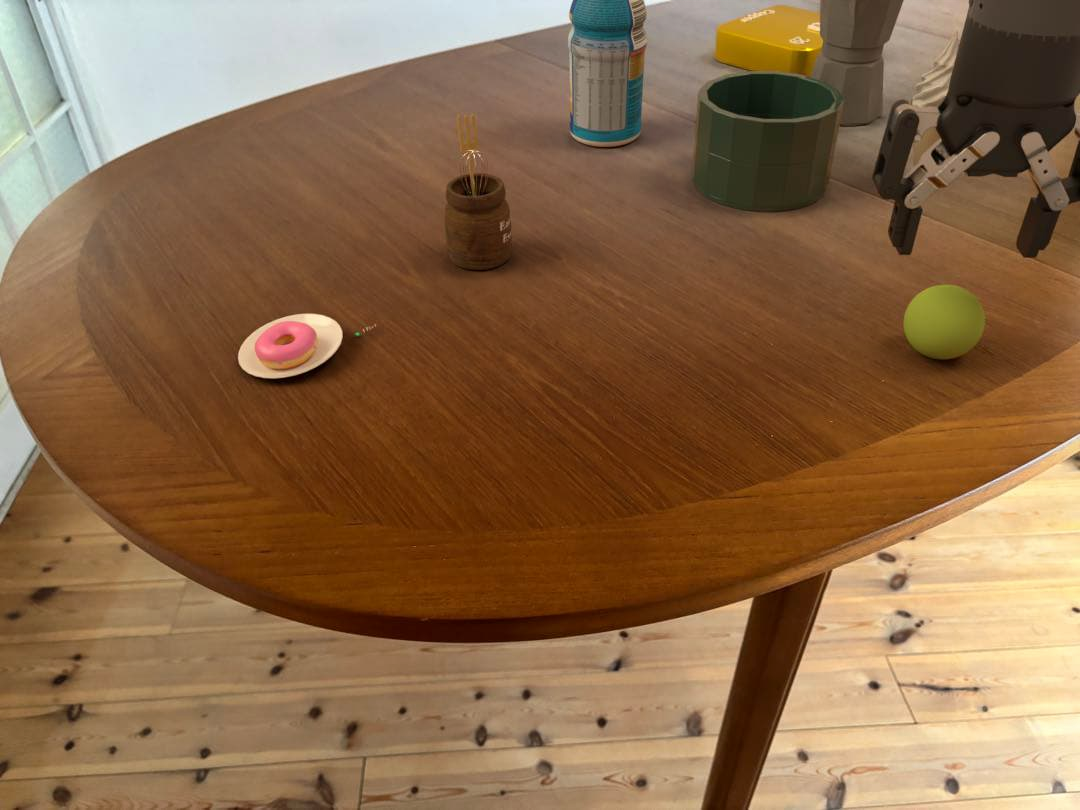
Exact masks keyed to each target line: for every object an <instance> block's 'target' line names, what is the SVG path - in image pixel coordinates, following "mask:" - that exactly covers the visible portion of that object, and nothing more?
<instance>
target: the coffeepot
mask: <svg viewBox="0 0 1080 810" xmlns="http://www.w3.org/2000/svg"><path fill="white" fill-rule="evenodd" d="M904 1H905V0H820V1H819V13H820V36H821V38H822V39H823V44H822V50H821V53H820V54H819V55H818V56H817V59H816V62H815V65H814V68H813V71H812V74H811V78H814V79H818V80H821V81H824V82H826V83H827V84H829V85H831V86H832V87H834V88H836V89H837V90H839V92H840V94H841V96H842V98H843V100H844V103H843V109H842V114H841V120H840V125H839V127H858V126H863V125H867V124H870V123H873V122H875V121H876V120H878V118H879V116H881V115H883V102H884V101H883V99H884V97H883V96H884V95H883V94H884V71H885V70H884V69H885V61H884V58H883V51H884V47H885V44H887V43H888V42H889V41H890V40H891V37H892V34H893V32H894V28H895V25H896V23H897V20H898V17H899V16H900V15H899V14H900V12H901V9H902V6H903V3H904Z"/></svg>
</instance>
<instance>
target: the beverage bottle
mask: <svg viewBox="0 0 1080 810" xmlns="http://www.w3.org/2000/svg"><path fill="white" fill-rule="evenodd" d="M647 12H648V11H647V7H646V3H645V0H572V1H571V5H570V8H569V13H568V19H569V21H570V22H571V29H570V30H569V33H568V36H567V37H568V38H567V47H568V51H569V52H568V53H569V133H570V135H571V137H572V138H573V139H575V141H577V142H579V143H581V144H584V145H587V146H591V147H599V148H612V147H619V146H624V145H627V144H629V143H632V142H634V141H635V140H637V139H638V138H639V137H640V135H641V132H642V109H643V92H644V91H643V90H644V74H645V73H644V70H645V54H646V49H647V44H648V40H647V39H648V37H647V32H646V29H645V28H644V23H645V22H646V19H647V17H648V13H647Z"/></svg>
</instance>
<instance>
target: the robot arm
mask: <svg viewBox="0 0 1080 810" xmlns="http://www.w3.org/2000/svg"><path fill="white" fill-rule="evenodd" d="M961 32H962V33H961V35H960V36H961V37H960V40H959V47H958V51H957V55H956V59H955V63H954V67H953V71H952V74H951V78H950V83H949V89H948V92H947V95H946V97H945V98H944V100H943V101H942V102H941V104H940V105H939V106H938V107H937V108H928V107H913V106H911V105H910V101H908V100H907V99H899V100H897V101H895V102H894V103H893V104H892V106H891V108H890V112H889V115H888V119H887V122H886V125H885V129H884V133H883V136H882V140H881V143H880V147H879V151H878V154H877V156H876V161H875V164H874V167H873V171H872V175H871V180H872V182H873V184H874V186H875V189H876V190H877V193H878V194H879V197H880V198H881V199H883V200H885V201H888V200H892V201H894V204H893V208H892V212H891V216H890V220H889V224H888V228H887V234H888V238H889V240H890V243H891V245H892V247H893V248H895V250H896V252H897V254H898V255H899V256H911V254H912V253H913V248H914V245H915V241H916V237H917V234H918V230H919V227H920V221H921V218H922V214H923V207H922V205H923V203H925V202H926V201H928V199H929V198H930V197H932V196H933V195H934V194H935V193H936V192H938V190H939V189H945V188H947V187H949V186H950V185H951V184H952V183H953V182H955V180H956V179H958V178H959V177H960V176H961V175H962V174H963V173H965V174H966V175H967V177H973V178H974V177H975V178H976V177H977V178H979V177H981V178H982V177H985V176H989V175H995V176H1000V177H1004V178H1018V175H1019V174H1021V173H1024V172H1027V174H1028V175H1029V177H1030V179H1031V182H1032V184H1033V186H1034V187H1035V190H1036V191H1037V195H1036V197H1034V196H1033V197H1030V199H1029V202H1028V205H1027V208H1026V211H1025V214H1024V217H1023V220H1022V222H1021V227H1020V228H1019V232H1018V234H1017V237H1016V241H1015V246H1016V249H1017V251H1018V252H1019V254H1020V255H1021V256H1022V257H1023V258H1024V259H1036V258H1037V257H1038V254H1039V251H1044V250H1045V249H1046V248H1047V247H1048V246H1049V245H1050V242H1051V239H1052V236H1053V234H1054V231H1055V228H1056V225H1057V223H1058V220H1059V218H1060V214H1061V213H1062V211H1063V210H1064V209H1066V208H1067V206H1069V205H1072V204H1075V203H1078V202H1080V108H1075V102H1076V101H1077V100H1076V99H1077V98H1078V97H1079V96H1080V0H968V9H967V13H966V17H965V21H964V25H963V29H962V31H961ZM932 127H935V128H936V130H937V132H938V134H939V136H940V138H939V139H938V140H937V141H936V142H935V143H934V144H933V145H932V146H931V147H930V148H929V149H928V150H926V151H925V152H924V153H923V154H922V156H921V157H920V160H919V162H918V163H917V164H916V165H915V166H914V165H913V167H912V168H911V169H910V170H908V172H906V173H905V171H906V167H907V164H908V160H909V157H910V154H911V151H912V149H913V143H914V142H918V141H920V140H921V139H922V137H923V136H924V134H925V132H926V131H927V130H928V129H930V128H932ZM1073 129H1074V136H1075V137H1076V138H1077V139H1078V141H1077V146H1076V149H1075V152H1074V156H1073V160H1072V162H1071V166H1070V168H1069V173H1068V176H1067V177H1064V178H1061V176H1060V174H1059V172H1058V170H1057V168H1056V166H1055V163H1054V162H1053V160H1052V158H1051V155H1050V153H1049V152H1050V151H1051V150H1052V149H1053V148H1054V147H1056V146H1057V145H1058V144H1059V143H1060V142H1062V140H1064V139H1065V138H1066V137H1067V136H1068V135H1070V134H1071V133H1072V131H1073ZM948 157H949V158H948ZM904 173H905V174H904Z"/></svg>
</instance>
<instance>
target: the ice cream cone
mask: <svg viewBox="0 0 1080 810" xmlns="http://www.w3.org/2000/svg"><path fill="white" fill-rule="evenodd" d="M959 44H960V40H959V31H958V30H956V31H955V33H954V34H953V36H952V37H951V39H950V40H949V42H948V43H947V44H946V45H945V47H944V48H943V50H942V51H941V52H940V54H938V56H937V57H936V58H935V60H934V61H933V68H932V69H931V70H930V71H928V72H926V73H923V74H922V75H921V76H920V78H921V82H918V83H916V84H915V87H914V88H915V90H916V91H917V94H915V95H914V96H912V98H911V99H910V100H909V103H910V105H911V106H913V107H928V108H937V107H938V106H939V105H940V104H941V102H942V101H943V100H944V98H945V97H946V95H947V92H948V89H949V83H950V78H951V74H952V71H953V67H954V63H955V59H956V55H957V51H958V47H959ZM939 138H940V136H939V134H938V132H937V130H936V128H935V127H932V128H930V129H928V130H927V131H926V132H925V134H924V136H923V137H922V139H921V140H920V141H918V142H914V143H913V144H912V151H913V167H914V166H915V165H916V164H917V163H918V162H919V160H920V157H921V156H922V154H923V153H924V152H925V151H926V150H928V149H929V148H930V147H931V146H932V145H933V144H934V143H935V142H936V141H937V140H938V139H939Z"/></svg>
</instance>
